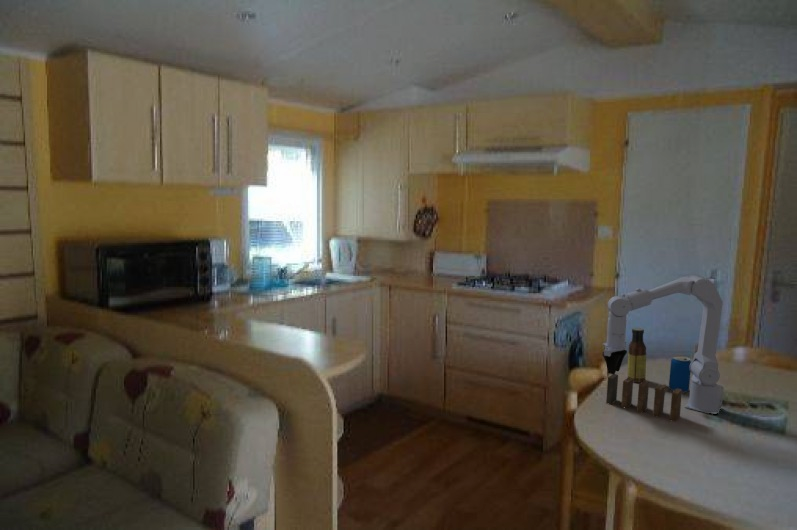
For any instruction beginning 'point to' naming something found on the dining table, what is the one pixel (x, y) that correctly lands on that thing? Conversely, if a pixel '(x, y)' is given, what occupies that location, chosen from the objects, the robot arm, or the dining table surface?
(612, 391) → the domino
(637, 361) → the sauce bottle
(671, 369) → the beverage can
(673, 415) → the domino
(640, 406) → the domino
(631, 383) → the domino
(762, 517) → the dining table surface
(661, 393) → the domino
